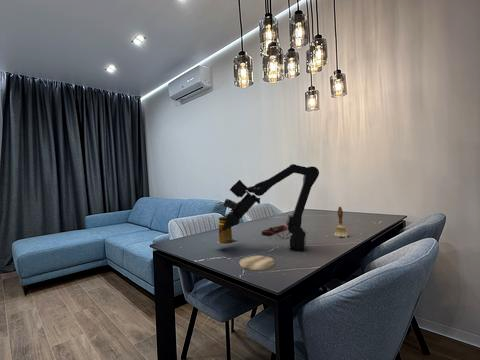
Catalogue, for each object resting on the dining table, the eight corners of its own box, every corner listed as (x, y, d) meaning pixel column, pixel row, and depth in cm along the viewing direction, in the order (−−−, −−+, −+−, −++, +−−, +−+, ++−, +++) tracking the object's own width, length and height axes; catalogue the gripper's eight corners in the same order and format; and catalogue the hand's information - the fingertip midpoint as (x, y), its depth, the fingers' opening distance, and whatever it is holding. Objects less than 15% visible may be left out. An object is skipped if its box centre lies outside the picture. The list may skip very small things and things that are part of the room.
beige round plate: (279, 260, 110) (279, 257, 110) (266, 272, 98) (266, 269, 98) (248, 256, 117) (248, 254, 117) (233, 267, 105) (233, 264, 104)
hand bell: (337, 238, 139) (336, 208, 139) (330, 235, 148) (329, 206, 147) (352, 237, 140) (351, 207, 140) (344, 233, 149) (343, 205, 148)
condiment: (216, 242, 129) (214, 217, 128) (230, 238, 133) (229, 215, 133) (224, 245, 123) (222, 219, 122) (239, 241, 128) (237, 216, 127)
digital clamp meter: (255, 228, 153) (280, 221, 171) (255, 236, 153) (280, 228, 171) (290, 234, 137) (313, 225, 155) (290, 243, 137) (314, 233, 155)
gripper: (234, 191, 136) (214, 213, 137) (230, 194, 117) (207, 220, 119) (251, 206, 135) (230, 228, 137) (249, 211, 117) (225, 237, 118)
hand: (223, 228), depth 128 cm, fingers closed on condiment, 6 cm apart
